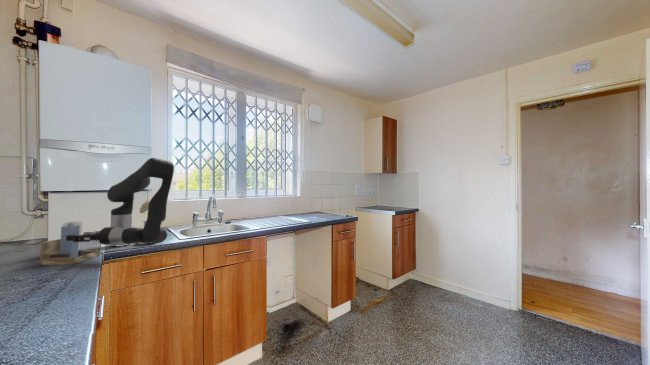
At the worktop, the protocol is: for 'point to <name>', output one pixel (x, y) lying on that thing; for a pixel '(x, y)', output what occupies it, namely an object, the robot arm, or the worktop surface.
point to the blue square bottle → (69, 246)
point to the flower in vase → (144, 210)
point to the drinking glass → (75, 224)
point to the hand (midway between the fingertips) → (75, 236)
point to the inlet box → (53, 256)
